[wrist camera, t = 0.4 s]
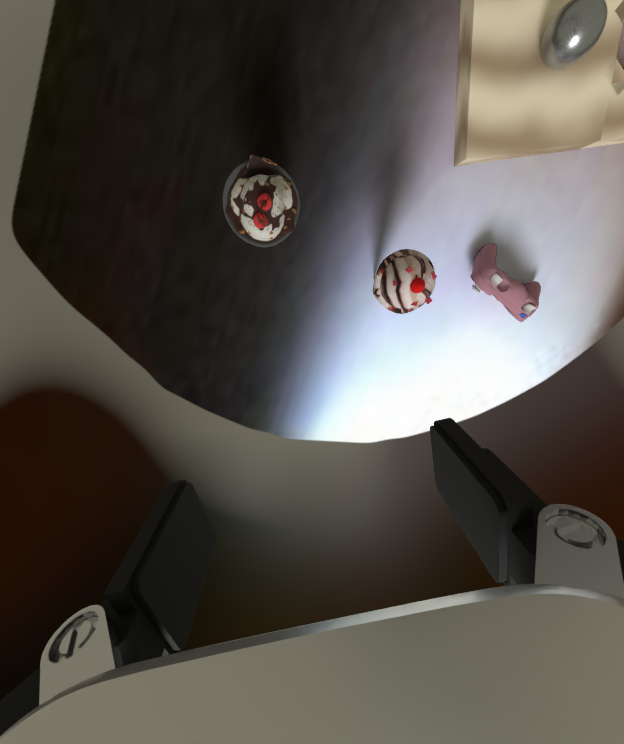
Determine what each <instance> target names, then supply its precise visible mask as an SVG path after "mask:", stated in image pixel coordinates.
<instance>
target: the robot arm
mask: <svg viewBox="0 0 624 744" xmlns="http://www.w3.org/2000/svg"><path fill="white" fill-rule="evenodd" d="M430 433H431V444H432V454H433V463H434V473H435V482H436V486H437V488H438V491H439V492H440V494H441V496H442V497H443V499H444V500H445V502H446V504H447V505H448V507H449V508H450V510H451V512H452V513H453V515H454V516H455V518H456V520H457V521H458V523H459V524H460V526H461V528H462V529H463V531H464V532H465V534H466V535H467V537H468V539H469V540H470V542H471V543H472V545H473V547H474V548H475V550H476V552H477V553H478V555H479V556H480V558H481V560H482V561H483V563H484V564H485V566H486V568H487V569H488V571H489V572H490V574H491V576H492V577H493V579H494V580H495V581H496V582H502V583H503V584H504V586H503V587H496V588H489V589H483V590H478V591H473V592H467V593H461V594H456V595H450V596H445V597H440V598H434V599H430V600H425V601H420V602H415V603H410V604H405V605H401V606H395V607H390V608H386V609H381V610H376V611H371V612H366V613H361V614H356V615H351V616H347V617H342V618H337V619H333V620H328V621H323V622H318V623H314V624H308V625H304V626H299V627H295V628H290V629H285V630H280V631H275V632H271V633H266V634H262V635H256V636H252V637H247V638H243V639H239V640H233V641H229V642H225V643H220V644H215V645H210V646H206V647H201V648H197V649H192V650H187V651H183V652H180V651H181V649H183V648H184V647H185V645H186V643H187V639H188V636H189V633H190V629H191V626H192V622H193V619H194V615H195V612H196V608H197V605H198V601H199V598H200V594H201V591H202V587H203V584H204V580H205V577H206V573H207V570H208V566H209V563H210V559H211V556H212V552H213V549H214V546H215V542H216V533H215V530H214V528H213V526H212V524H211V522H210V520H209V518H208V516H207V514H206V512H205V510H204V508H203V506H202V504H201V501H200V500H199V498H198V495H197V493H196V491H195V490H194V487H193V485H192V484H191V483H190V482H187V481H186V480H180V481H176V482H171V483H169V484H167V486H166V487H165V489H164V491H163V492H162V494H161V496H160V498H159V499H158V501H157V503H156V504H155V506H154V508H153V510H152V511H151V513H150V515H149V517H148V518H147V520H146V522H145V523H144V525H143V527H142V529H141V530H140V532H139V534H138V536H137V537H136V539H135V541H134V542H133V544H132V546H131V548H130V549H129V551H128V553H127V554H126V556H125V558H124V560H123V562H122V563H121V565H120V567H119V568H118V570H117V572H116V573H115V575H114V577H113V579H112V580H111V582H110V584H109V586H108V587H107V589H106V591H105V593H104V594H103V596H104V598H105V599H104V601H103V603H102V605H101V606H99V605H92V606H89V607H86V608H84V609H82V610H80V611H79V612H77V613H76V614H74V615H73V616H71V618H69V619H68V620H67V621H66V622H65V623H63V624H62V626H61V627H60V628H59V629H58V630H57V631H56V632H55V633H54V635H53V636H52V638H51V639H50V640H49V642H48V643H47V645H46V647H45V649H44V652H43V653H42V658H41V664H40V668H38V669H37V670H36V671H35V672H34V673H33V674H31V675H30V676H29V677H28V678H27V679H25V680H24V681H23V682H22V683H21V684H20V685H18V686H17V687H16V688H15V689H14V690H13V691H12V692H10V693H9V694H8V695H7V696H6V697H5V698H3V699H2V700H1V701H0V744H624V541H622V540H618V539H616V538H615V536H614V534H613V531H612V530H611V529H610V528H609V527H608V525H607V524H606V523H605V522H603V521H602V520H601V519H599V518H598V517H597V516H595V515H593V514H591V513H589V512H588V511H585V510H583V509H580V508H577V507H574V506H570V505H563V504H558V505H557V504H556V505H550V506H548V505H547V504H545V503H544V502H543V501H542V500H541V499H540V498H539V497H538V496H537V495H536V494H535V493H534V492H533V491H532V490H531V489H530V488H529V487H528V486H527V485H526V484H525V483H524V482H523V481H522V480H521V479H519V477H518V476H516V475H515V474H514V473H513V472H512V471H511V470H510V469H509V468H508V467H507V466H506V465H505V464H504V463H503V462H502V461H501V460H500V459H499V458H498V457H496V455H494V453H493V452H491V451H490V450H489V449H487V448H481V447H480V446H479V445H478V444H476V442H475V441H474V440H473V439H472V438H471V437H470V436H469V435H468V434H467V433H465V431H464V430H463V429H462V428H461V427H460V426H459V425H458V424H457V423H456V422H455V421H454V420H453V419H451V418H447V419H443V420H438V421H435V422H434V426H431V427H430Z"/></svg>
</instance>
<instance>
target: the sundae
mask: <svg viewBox="0 0 624 744" xmlns="http://www.w3.org/2000/svg"><path fill="white" fill-rule="evenodd" d="M223 208H224V213H225V217H226V219H227V221H228V223H229V225H230V227H231V228H232V230H233V231H234V232H235V233H236V234H237V235H238V236H239V237H240V238H242V239H243V240H244V241H246V242H248V243H250V244H252V245H255V246H258V247H270V246H274V245H276V244H278V243H280V242H281V241H283V240H284V239H286V238H287V236H288V235H289V234H290V233H291V232H293V231H294V230H295V225H296V223H297V220H298V217H299V213H300V198H299V194H298V191H297V188H296V186H295V184H294V182H293V180H292V178H291V177H290V176H289V175H288V173H287V172H286V171H285V170H284V169H283V168H281V167H280V166H279V165H277V163H275V162H273V161H271V160H269V159H267V158H263V157H259V156H257V155H255V154H251V155H250V158H249V161H247V162H245V163H243V164H241V165H239V166H238V167H236V168H235V169H234V170H233V171H232V173H231V174H230V175H229V177H228V179H227V181H226V183H225V187H224V191H223Z"/></svg>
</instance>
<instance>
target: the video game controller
mask: <svg viewBox="0 0 624 744" xmlns="http://www.w3.org/2000/svg"><path fill="white" fill-rule="evenodd" d="M496 253H497V247H496V244H494V243H489V244H487V245H485V246H484V247H483V248H482V249H481V250H480V251H479V253H478V255H477V256H476V258H475V261H474V264H473V271H472V275H471V278H472V280H473V281H474V282H475V286H474V285H472V286H473V289H474V291H476V292H480V291H479V290H482V291H484V292H485V293H487V294H488V295H491V294H492V295H493V296H494V297H495V298H496V299H497V300H498V301H500V302H501V303H502V304H503V305H504V306H505V308H506V309H507V310H508V312H509V313H510V314H511V315H512V316H514V317H515V318H516V319H517V320H518V321H520V322H522V321H524V320H525V319H527V318H528V317H530V316H531V315H532V314H533V313H534V312H535V310H536V309H537V308H538V305H539V302H538V300H539V295H540V290H541V286H540V284H539V283H538V282H536V281H533V282H530V283H528V284H527V285H525V286H523V284H521V283H520V282H518V281H516V280H514V279H511V278H510V277H509V276H508V275H507V274H505V273H504V272H503V271H501V270H500V269H499V268H497V266H496V263H495V260H496Z"/></svg>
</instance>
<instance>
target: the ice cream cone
mask: <svg viewBox="0 0 624 744" xmlns="http://www.w3.org/2000/svg"><path fill="white" fill-rule="evenodd" d="M436 277H437V276H436V275H435V271H434V267H433V265H432V263H431V261H430V260H429V258H428V257H426V256H425V255H424V254H422V253H421V252H418V251H415V250H410V249H404V250H399V251H396V252H394V253H392V254H391V255H389V256H388V257H387V258H385V259H384V260H383V261H382V263H381V264H380V266H379V268H378V270H377V273H376V276H375V277H374V285H373V294H374V295H375V297H376V298H377V300H378V301H379V302H380V304H381V305H382V306H384V307H385V308H386V309H388V310H389V311H392V312H394V313H400V314H403V313H408V312H411V311H413V310H415V309H417V308H419V307H420V306H422V305H423V304H424V303H425V302H426V303H427V304H429V303H430V302H431V301H432V300H431V298H430V295H431V294H432V292H433V290H434V287H435V278H436Z"/></svg>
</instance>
